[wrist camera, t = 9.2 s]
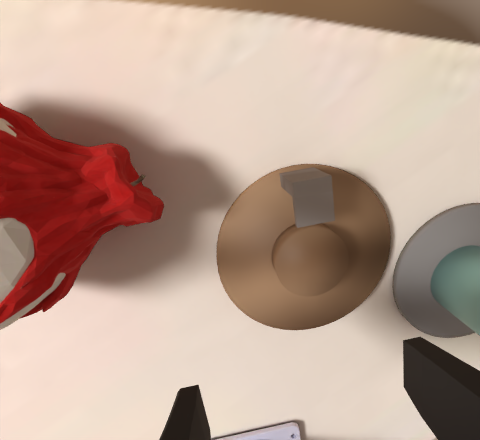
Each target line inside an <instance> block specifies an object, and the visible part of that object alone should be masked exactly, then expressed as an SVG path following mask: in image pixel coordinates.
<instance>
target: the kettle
mask: <svg viewBox="0 0 480 440" xmlns="http://www.w3.org/2000/svg"><path fill="white" fill-rule="evenodd" d="M431 292H432V295H433V297H434V299H435V300H436V301H437V302H438V303H439V304H440V305H442V306H443V307H444V308H445V309H447V310H448V311H449V312H450V313H452V314H453V315H454V316H455V317H457V318H458V319H459V320H460V321H462V322H463V323H464V324H465V325H467V326H468V327H469V328H470V329H472V330H473V331H474V332H476V333H477V334H478V335H479V336H480V246H475V245H470V246H464V247H461V248H458V249H456V250H454V251H452V252H450V253H449V254H448V255H446V256H445V257H444V258H443V259H442V260H441V261H440V262H439V264H438V265H437V266H436V268H435V270H434V272H433V275H432V278H431Z"/></svg>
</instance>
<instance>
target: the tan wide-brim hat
mask: <svg viewBox="0 0 480 440" xmlns="http://www.w3.org/2000/svg"><path fill="white" fill-rule="evenodd" d="M390 241H391V236H390V226H389V222H388V218H387V215H386V212H385V210H384V207H383V205H382V204H381V202H380V200H379V198H378V197H377V196H376V195H375V193H374V192H373V191H372V190H371V189H370V188H369V187H368V186H367V185H366V184H365V183H364V182H363V181H361V180H360V179H358V178H357V177H355V176H353V175H351V174H349V173H347V172H345V171H343V170H340V169H337V168H334V167H330V166H326V165H319V164H300V165H293V166H289V167H285V168H281V169H278V170H276V171H273V172H271V173H269V174H267V175H265V176H263V177H262V178H260V179H258V180H257V181H255V182H254V183H253V184H251V185H250V186H249V187H248V188H247V189H246V190H245V191H243V192H242V193H241V194H240V195H239V197H238V198H237V199H236V200H235V202H234V203H233V204H232V206H231V207H230V209H229V211H228V212H227V214H226V216H225V218H224V220H223V223H222V225H221V228H220V232H219V235H218V241H217V265H218V272H219V275H220V279H221V282H222V284H223V287H224V289H225V291H226V293H227V294H228V296H229V297H230V299H231V300H232V301H233V303H234V304H235V305H236V306H237V307H238V308H239V309H240V310H241V311H242V312H243V313H245V314H246V315H247V316H249V317H250V318H252V319H253V320H255V321H258V322H260V323H262V324H264V325H267V326H270V327H274V328H279V329H285V330H305V329H311V328H316V327H320V326H324V325H326V324H329V323H332V322H334V321H336V320H338V319H340V318H342V317H344V316H345V315H347V314H348V313H350V312H351V311H353V310H354V309H355V308H356V307H358V306H359V305H360V304H361V303H362V302H363V301H364V300H365V299H366V298H367V297H368V296H369V295H370V293H371V292H372V291H373V289H374V288H375V287H376V285H377V283H378V282H379V280H380V279H381V276H382V274H383V272H384V270H385V267H386V264H387V261H388V257H389V252H390Z"/></svg>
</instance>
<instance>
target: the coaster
mask: <svg viewBox="0 0 480 440" xmlns="http://www.w3.org/2000/svg"><path fill="white" fill-rule="evenodd" d="M470 245H475V246H480V203H471V204H464V205H460V206H456V207H453V208H451V209H448V210H446V211H444V212H442V213H440V214H438V215H436V216H435V217H433V218H432V219H430V220H429V221H427V222H426V223H425V224H424V225H423V226H421V227H420V228H419V229H418V230H417V231H416V232H415V233H414V235H413V236H412V237H411V238H410V240H409V241H408V242H407V243H406V245H405V247H404V248H403V250H402V252H401V254H400V256H399V258H398V260H397V263H396V267H395V270H394V275H393V294H394V298H395V302H396V304H397V307H398V309H399V310H400V312H401V313H402V315H403V316H404V317H405V318H406V319H407V320H408V321H409V322H410V323H411V324H412V325H413V326H414V327H416V328H417V329H418V330H420V331H422V332H424V333H426V334H429V335H432V336H436V337H445V338H451V337H460V336H465V335H469V334H472V333H475V332H474V331H473V330H472V329H470V328H469V327H468V326H467V325H465V324H464V323H463V322H462V321H460V320H459V319H458V318H457V317H455V316H454V315H453V314H452V313H450V312H449V311H448V310H447V309H445V308H444V307H443V306H442V305H440V304H439V303H438V302H437V301H436V300H435V299H434V297H433V295H432V292H431V278H432V275H433V272H434V270H435V268H436V266H437V265H438V264H439V262H440V261H441V260H442V259H443V258H444V257H445V256H446V255H448V254H449V253H450V252H452V251H454V250H456V249H458V248H461V247H464V246H470Z"/></svg>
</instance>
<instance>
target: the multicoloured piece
mask: <svg viewBox="0 0 480 440" xmlns="http://www.w3.org/2000/svg"><path fill="white" fill-rule="evenodd" d="M144 177H145V176H144V175H141V176H140V177H139V175H138V174H137V172H136V171H135V169H134V167H133V166H132V164H131V161H130V154H129V152H128V150H127V149H126V148H124V147H123V146H121V145H119V144H114V143H109V144H103V145H97V146H92V147H85V146H81V145H77V144H73V143H70V142H66V141H62V140H58V139H55V138H53V137H51V136H50V135H49V134H47V133H46V132H45V131H43V130H42V129H41V128H40V127H38V126H37V125H36V124H35V122H34V121H33V120H32V119H31V118H29V117H28V116H26V115H24V114H21V113H19V112H17V111H14V110H12V109H10V108H7V107H5V106H3V105H2V104H1V103H0V330H1V329H3V328H5V327H7V326H9V325H10V324H12V323H13V322H15V321H16V320H18V319H19V318H23V317H26V316H29V315H31V314H34V313H36V312H38V311H40V310H42V309H43V312H45V311H47V310H48V309H50V308H51V307H52V306H53V305H54V304H56V303H57V302H58V301H59V300H61V299H62V298H64V297H65V296H66V295H67V294H68V292H69V291H70V289H71V288H72V286H73V284H74V282H75V279H76V277H77V275H78V272H79V270H80V267H81V265H82V264H83V262H84V261H85V260H86V259H87V257H88V256H89V254H90V252H91V251H92V249H93V247H94V246H95V244H96V243H97V241H98V240H99V238H100V237H101V236H102V234H104V233H106V232H108V231H110V230H112V229H113V228H115V227H117V226H119V225H124V226H131V225H135V224H140V223H145V222H153V221H155V220H158V219H160V218H161V215H162V211H163V208H164V204H163V202H162V201H161V200H160V198H158V197H156V196H154V195H153V193H152V191H151V190H150V189H149V188H147V187H145V186H143V185H142V182H141V181H142V180H143V179H144Z"/></svg>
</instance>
